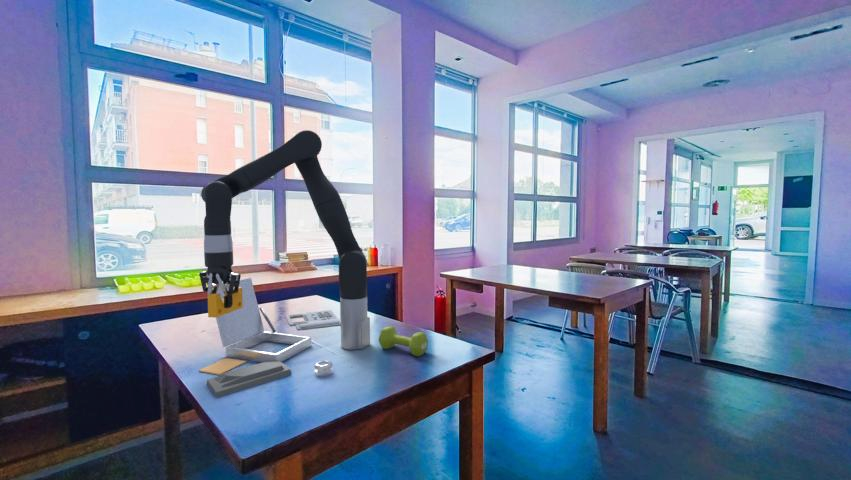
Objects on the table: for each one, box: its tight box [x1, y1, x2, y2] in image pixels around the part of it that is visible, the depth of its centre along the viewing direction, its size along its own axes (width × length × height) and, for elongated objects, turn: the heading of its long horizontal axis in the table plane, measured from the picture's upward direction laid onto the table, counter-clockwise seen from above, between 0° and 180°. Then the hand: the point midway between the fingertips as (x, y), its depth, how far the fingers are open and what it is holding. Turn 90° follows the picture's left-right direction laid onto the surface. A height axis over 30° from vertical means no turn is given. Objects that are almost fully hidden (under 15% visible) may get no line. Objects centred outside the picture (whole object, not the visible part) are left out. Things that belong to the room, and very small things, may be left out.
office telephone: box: [285, 309, 341, 331], centre depth 167 cm, size 23×3×20 cm
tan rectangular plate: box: [198, 357, 247, 376], centre depth 118 cm, size 8×10×1 cm
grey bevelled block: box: [206, 360, 292, 398], centre depth 110 cm, size 10×20×4 cm, turn 134°
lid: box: [213, 277, 265, 348], centre depth 135 cm, size 20×18×1 cm
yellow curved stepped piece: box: [206, 287, 243, 319], centre depth 118 cm, size 12×4×6 cm, turn 170°
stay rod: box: [258, 306, 276, 332], centre depth 143 cm, size 7×1×10 cm, turn 70°
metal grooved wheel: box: [314, 360, 333, 377], centre depth 114 cm, size 5×3×5 cm
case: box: [225, 330, 312, 363], centre depth 132 cm, size 20×19×3 cm
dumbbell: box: [378, 325, 429, 357], centre depth 131 cm, size 16×8×7 cm, turn 58°
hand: (221, 306), depth 117 cm, fingers closed on yellow curved stepped piece, 4 cm apart
